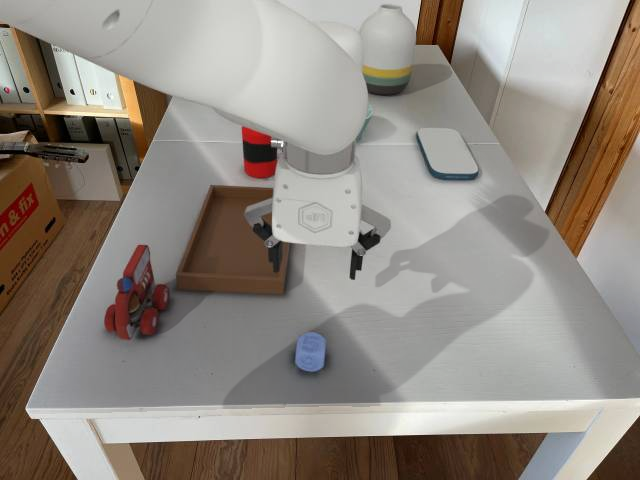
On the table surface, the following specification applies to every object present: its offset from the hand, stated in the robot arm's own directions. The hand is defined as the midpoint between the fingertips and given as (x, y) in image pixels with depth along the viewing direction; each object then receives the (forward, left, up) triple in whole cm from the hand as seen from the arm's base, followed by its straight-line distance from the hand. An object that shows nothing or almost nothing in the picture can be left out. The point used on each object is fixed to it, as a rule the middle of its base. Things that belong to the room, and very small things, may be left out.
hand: (315, 268), depth 63 cm
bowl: (+69, -4, -17) cm, 71 cm away
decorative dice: (-2, 0, -17) cm, 17 cm away
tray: (+25, +14, -16) cm, 33 cm away
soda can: (+51, +14, -17) cm, 56 cm away
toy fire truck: (+5, +27, -17) cm, 32 cm away
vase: (+104, -17, -17) cm, 107 cm away
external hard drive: (+62, -30, -17) cm, 71 cm away
